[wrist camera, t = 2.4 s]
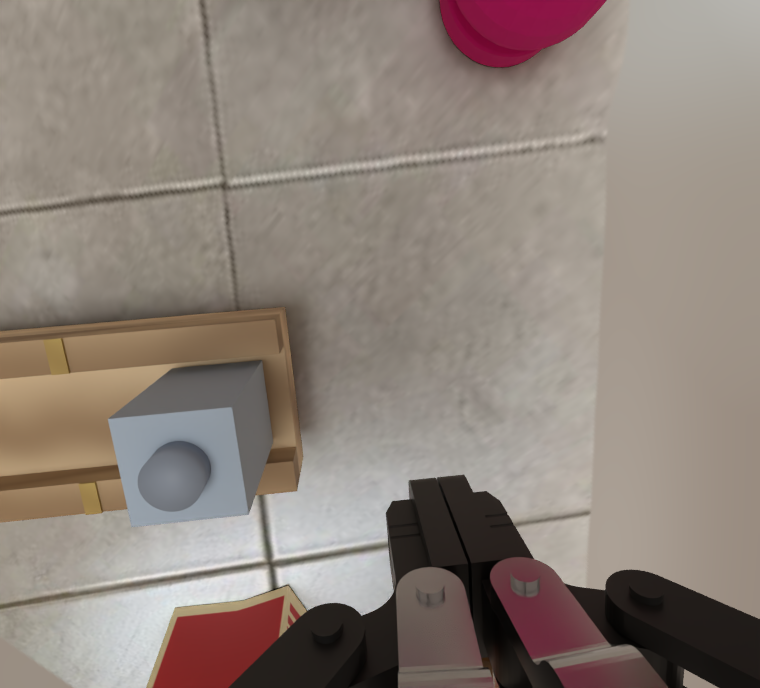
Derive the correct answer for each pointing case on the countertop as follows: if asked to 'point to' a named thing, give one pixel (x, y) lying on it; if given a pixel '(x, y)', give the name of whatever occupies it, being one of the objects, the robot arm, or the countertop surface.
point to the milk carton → (221, 639)
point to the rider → (194, 444)
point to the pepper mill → (512, 26)
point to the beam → (121, 402)
